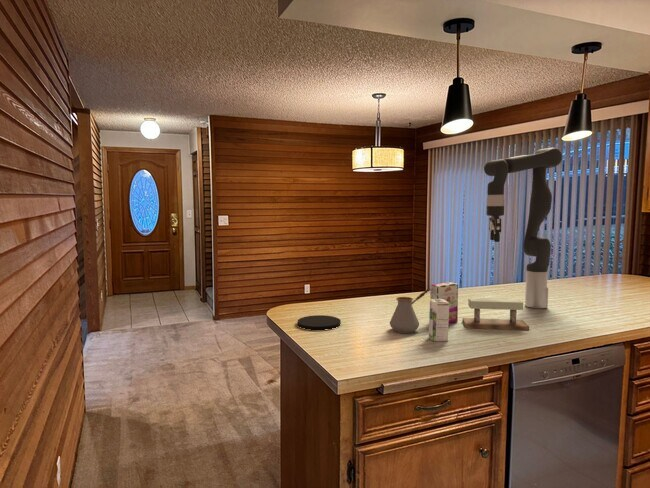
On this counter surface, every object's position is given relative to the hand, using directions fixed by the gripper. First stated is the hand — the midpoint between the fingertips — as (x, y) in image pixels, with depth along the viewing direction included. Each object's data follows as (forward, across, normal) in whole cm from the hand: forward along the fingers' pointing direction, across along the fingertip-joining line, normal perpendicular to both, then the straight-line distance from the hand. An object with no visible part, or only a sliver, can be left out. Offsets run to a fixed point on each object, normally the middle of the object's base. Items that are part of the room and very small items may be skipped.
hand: (494, 240), depth 206 cm
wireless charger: (+32, -34, +76) cm, 89 cm away
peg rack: (+32, -25, +5) cm, 41 cm away
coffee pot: (+32, -34, +38) cm, 60 cm away
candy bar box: (+32, -23, +25) cm, 47 cm away
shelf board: (+25, -25, +4) cm, 36 cm away
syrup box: (+32, -47, +29) cm, 64 cm away
